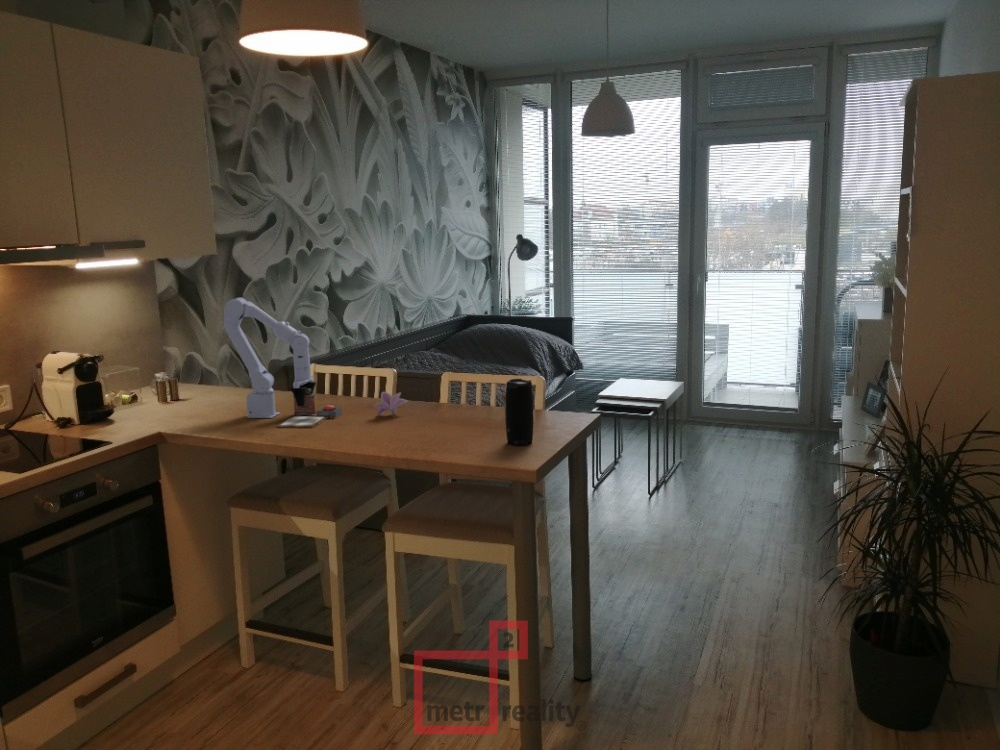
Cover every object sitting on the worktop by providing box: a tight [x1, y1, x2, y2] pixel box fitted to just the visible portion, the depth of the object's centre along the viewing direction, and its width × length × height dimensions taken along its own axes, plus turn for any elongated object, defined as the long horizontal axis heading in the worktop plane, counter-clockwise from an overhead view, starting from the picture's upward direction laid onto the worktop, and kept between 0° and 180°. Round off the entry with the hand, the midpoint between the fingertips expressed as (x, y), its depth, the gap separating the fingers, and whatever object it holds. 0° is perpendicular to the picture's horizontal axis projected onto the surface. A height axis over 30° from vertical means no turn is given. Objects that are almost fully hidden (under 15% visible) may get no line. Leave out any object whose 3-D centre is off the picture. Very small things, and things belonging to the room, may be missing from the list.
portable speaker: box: [504, 378, 535, 447], centre depth 242 cm, size 9×9×20 cm
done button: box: [323, 404, 335, 411], centre depth 286 cm, size 4×4×2 cm
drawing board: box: [276, 415, 328, 428], centre depth 276 cm, size 13×15×1 cm
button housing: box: [316, 406, 343, 418], centre depth 286 cm, size 7×7×2 cm
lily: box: [372, 391, 408, 420], centre depth 282 cm, size 12×12×10 cm
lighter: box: [292, 387, 317, 416], centre depth 289 cm, size 8×3×10 cm, turn 84°
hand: (304, 403), depth 289 cm, fingers open, 7 cm apart
